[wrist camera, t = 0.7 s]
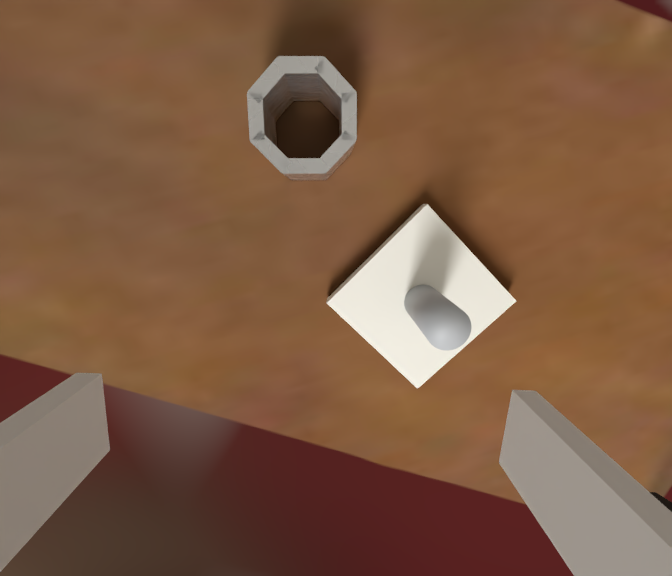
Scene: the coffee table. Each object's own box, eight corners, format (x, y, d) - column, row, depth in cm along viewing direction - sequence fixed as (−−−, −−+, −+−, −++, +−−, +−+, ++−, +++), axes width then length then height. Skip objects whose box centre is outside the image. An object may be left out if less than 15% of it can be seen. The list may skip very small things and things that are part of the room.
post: (326, 298, 32) (326, 330, 24) (422, 204, 30) (457, 203, 22) (413, 380, 34) (440, 436, 26) (507, 296, 33) (569, 327, 24)
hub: (246, 135, 29) (225, 116, 23) (306, 66, 28) (300, 29, 22) (309, 198, 30) (304, 195, 24) (368, 134, 29) (378, 116, 23)
